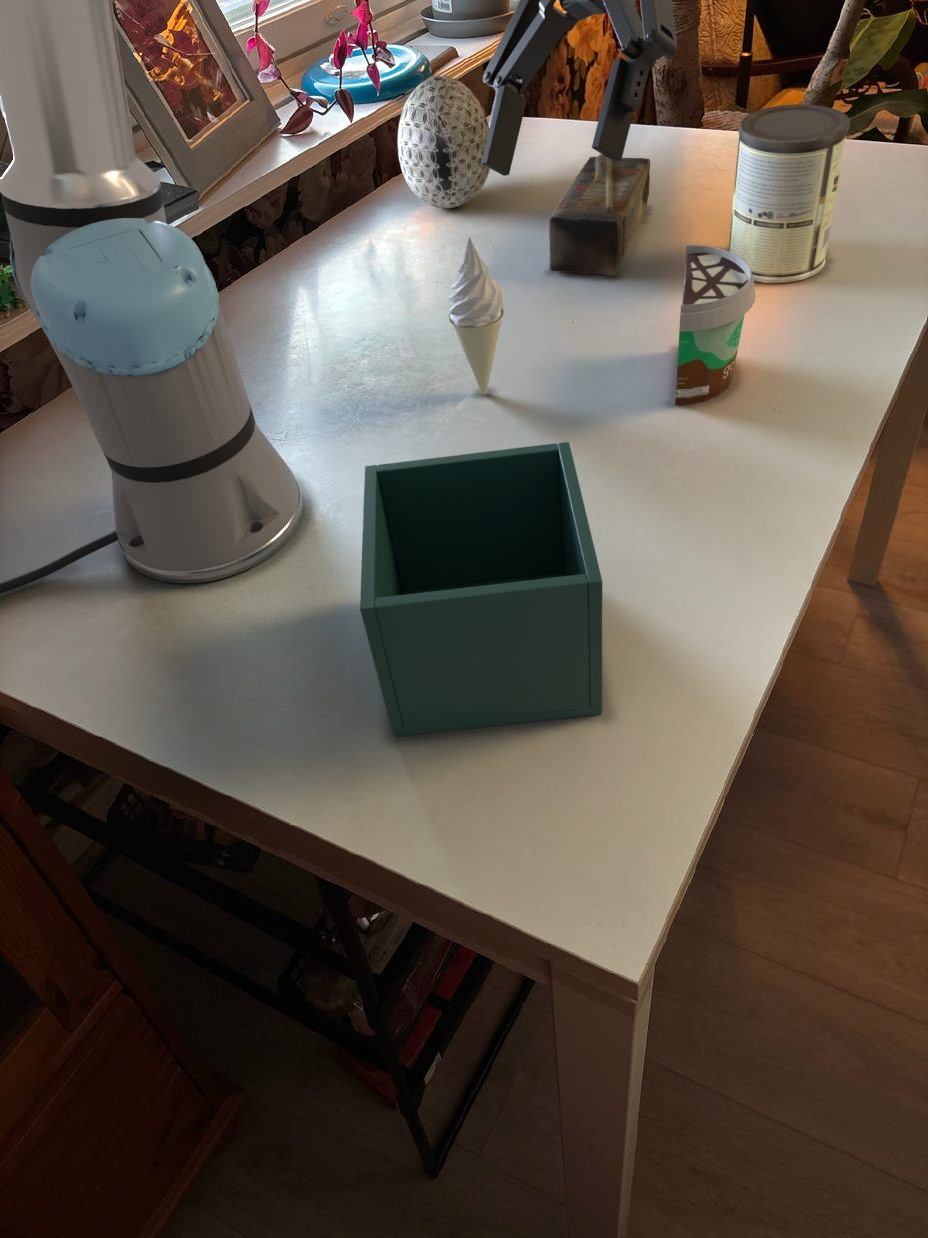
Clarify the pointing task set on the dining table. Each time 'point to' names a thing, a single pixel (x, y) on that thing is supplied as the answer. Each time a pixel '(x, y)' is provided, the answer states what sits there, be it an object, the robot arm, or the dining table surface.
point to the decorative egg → (443, 142)
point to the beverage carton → (599, 216)
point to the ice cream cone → (477, 315)
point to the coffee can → (786, 189)
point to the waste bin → (481, 590)
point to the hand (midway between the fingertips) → (547, 162)
